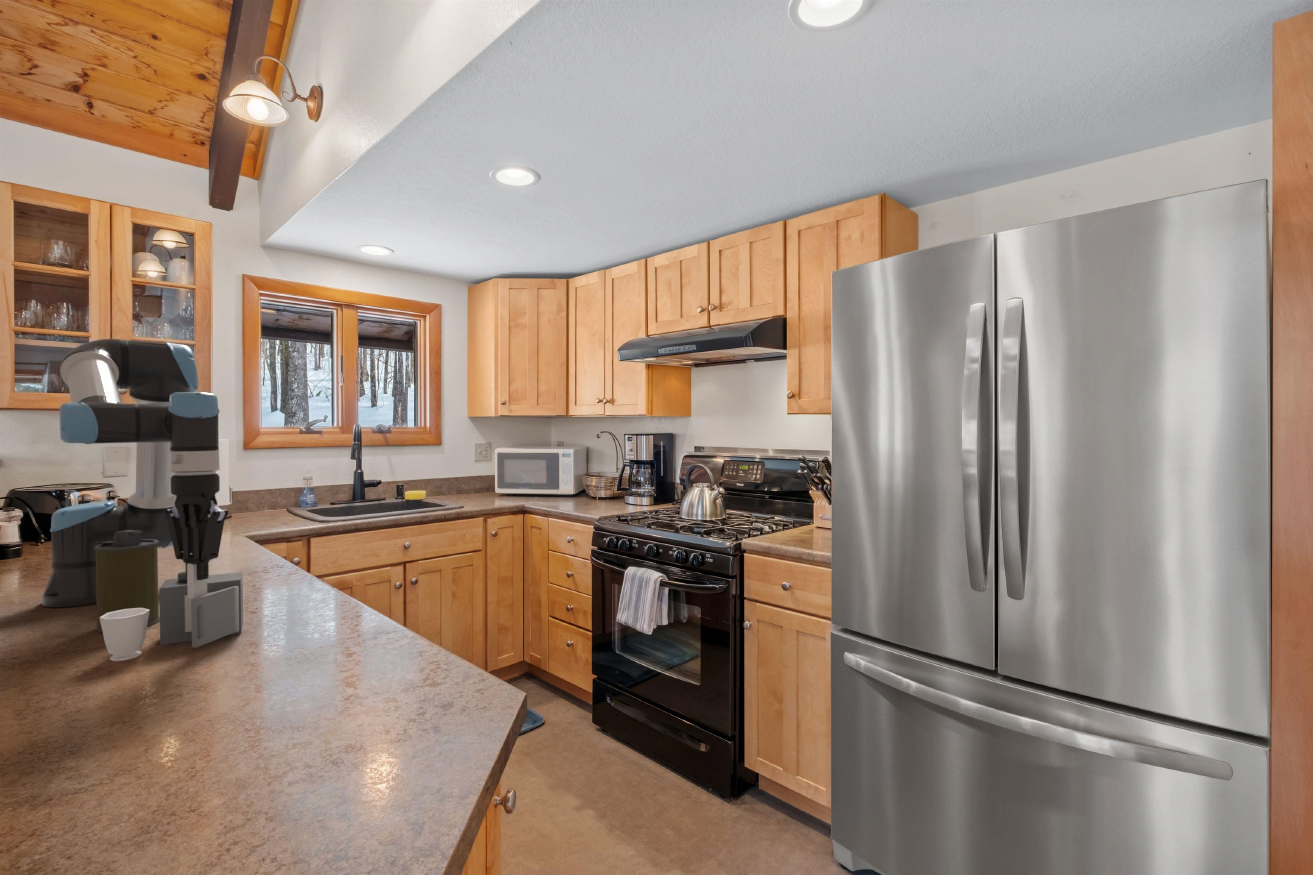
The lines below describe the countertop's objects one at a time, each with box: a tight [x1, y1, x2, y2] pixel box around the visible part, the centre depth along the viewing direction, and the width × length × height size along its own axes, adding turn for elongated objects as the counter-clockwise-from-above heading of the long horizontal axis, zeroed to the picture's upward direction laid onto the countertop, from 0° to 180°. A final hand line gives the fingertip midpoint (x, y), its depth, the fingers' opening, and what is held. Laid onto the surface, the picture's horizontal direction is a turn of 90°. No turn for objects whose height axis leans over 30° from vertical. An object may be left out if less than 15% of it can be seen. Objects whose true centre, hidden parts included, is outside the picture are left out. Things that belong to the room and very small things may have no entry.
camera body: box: [158, 571, 244, 646], centre depth 126 cm, size 8×13×12 cm, turn 121°
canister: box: [94, 530, 160, 633], centre depth 132 cm, size 11×10×20 cm
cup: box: [99, 608, 150, 662], centre depth 115 cm, size 7×10×8 cm
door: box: [191, 586, 239, 648], centre depth 121 cm, size 2×10×9 cm, turn 171°
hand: (197, 596), depth 119 cm, fingers closed
